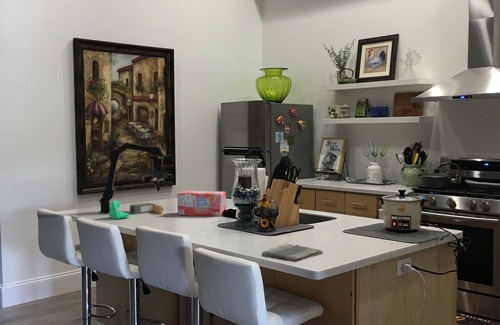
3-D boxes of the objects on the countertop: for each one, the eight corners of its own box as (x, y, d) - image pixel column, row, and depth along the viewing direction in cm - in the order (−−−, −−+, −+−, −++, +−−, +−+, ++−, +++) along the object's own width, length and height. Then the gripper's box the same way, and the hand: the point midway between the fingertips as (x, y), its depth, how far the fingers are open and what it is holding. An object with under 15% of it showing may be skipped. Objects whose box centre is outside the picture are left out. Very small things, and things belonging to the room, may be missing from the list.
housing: (128, 213, 346) (128, 204, 346) (149, 210, 354) (149, 202, 354) (133, 214, 340) (132, 205, 340) (154, 211, 348) (154, 203, 348)
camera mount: (129, 218, 327) (129, 200, 326) (117, 220, 322) (116, 202, 321) (121, 216, 336) (120, 199, 336) (109, 217, 332) (108, 200, 331)
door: (160, 214, 339) (160, 206, 339) (154, 212, 348) (153, 204, 348) (163, 213, 340) (163, 205, 340) (156, 211, 349) (156, 203, 349)
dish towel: (296, 263, 215) (296, 255, 215) (260, 256, 227) (260, 249, 227) (324, 254, 229) (324, 246, 229) (289, 248, 241) (289, 241, 241)
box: (226, 213, 339) (226, 190, 338) (220, 216, 326) (220, 192, 325) (184, 212, 345) (183, 189, 344) (177, 215, 333) (176, 192, 332)
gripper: (146, 168, 342) (147, 193, 343) (175, 166, 350) (176, 191, 351) (141, 166, 352) (142, 191, 353) (169, 165, 360) (170, 189, 361)
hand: (158, 191), depth 354 cm, fingers closed
